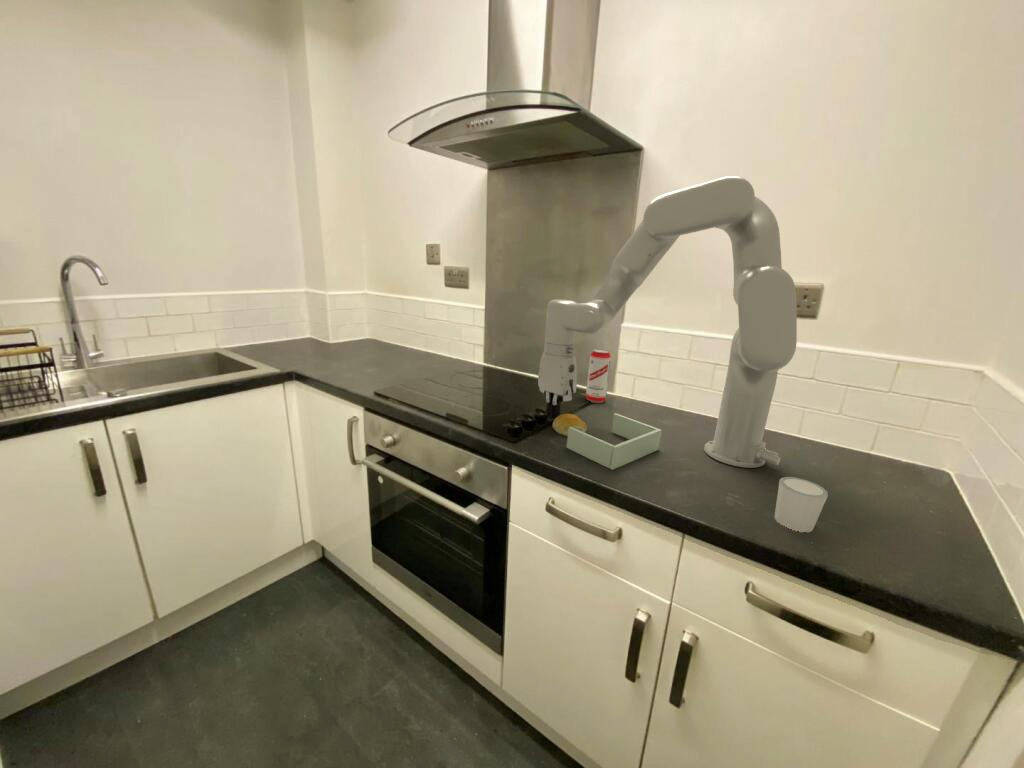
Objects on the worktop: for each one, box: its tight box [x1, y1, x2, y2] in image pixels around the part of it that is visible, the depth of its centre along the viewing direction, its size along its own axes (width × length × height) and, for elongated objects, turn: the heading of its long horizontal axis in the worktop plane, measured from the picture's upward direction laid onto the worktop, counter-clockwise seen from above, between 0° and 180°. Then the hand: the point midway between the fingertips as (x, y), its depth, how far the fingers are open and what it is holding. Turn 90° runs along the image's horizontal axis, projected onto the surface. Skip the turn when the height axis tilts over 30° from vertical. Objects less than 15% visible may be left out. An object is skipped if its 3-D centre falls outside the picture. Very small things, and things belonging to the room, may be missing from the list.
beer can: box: [585, 348, 612, 404], centre depth 129 cm, size 6×6×16 cm
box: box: [566, 412, 662, 471], centre depth 96 cm, size 13×18×5 cm
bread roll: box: [552, 413, 588, 437], centre depth 106 cm, size 8×9×4 cm
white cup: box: [774, 476, 829, 533], centre depth 71 cm, size 7×7×7 cm
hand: (553, 417), depth 111 cm, fingers closed
